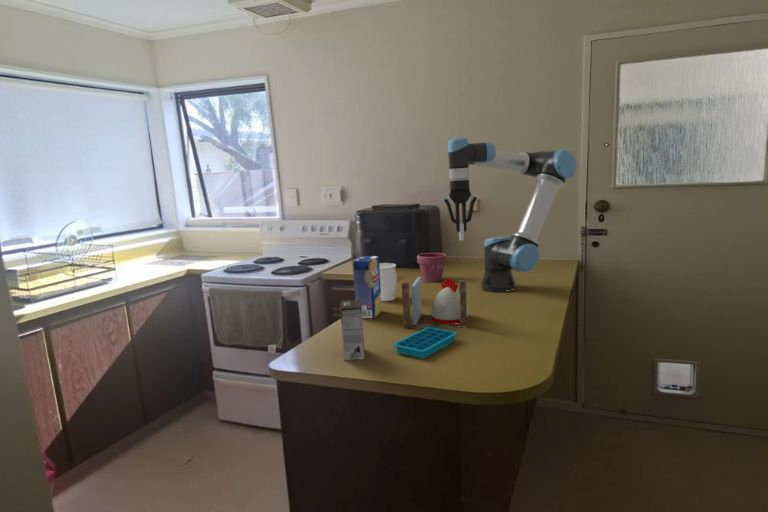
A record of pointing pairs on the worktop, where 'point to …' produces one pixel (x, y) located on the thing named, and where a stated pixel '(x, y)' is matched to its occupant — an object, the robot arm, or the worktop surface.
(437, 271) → the plant pot
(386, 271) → the jar
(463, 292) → the door frame
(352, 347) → the coffee box
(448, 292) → the kitchen timer
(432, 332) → the ice cube tray
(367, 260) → the blue cardboard box
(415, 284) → the door
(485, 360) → the worktop surface
